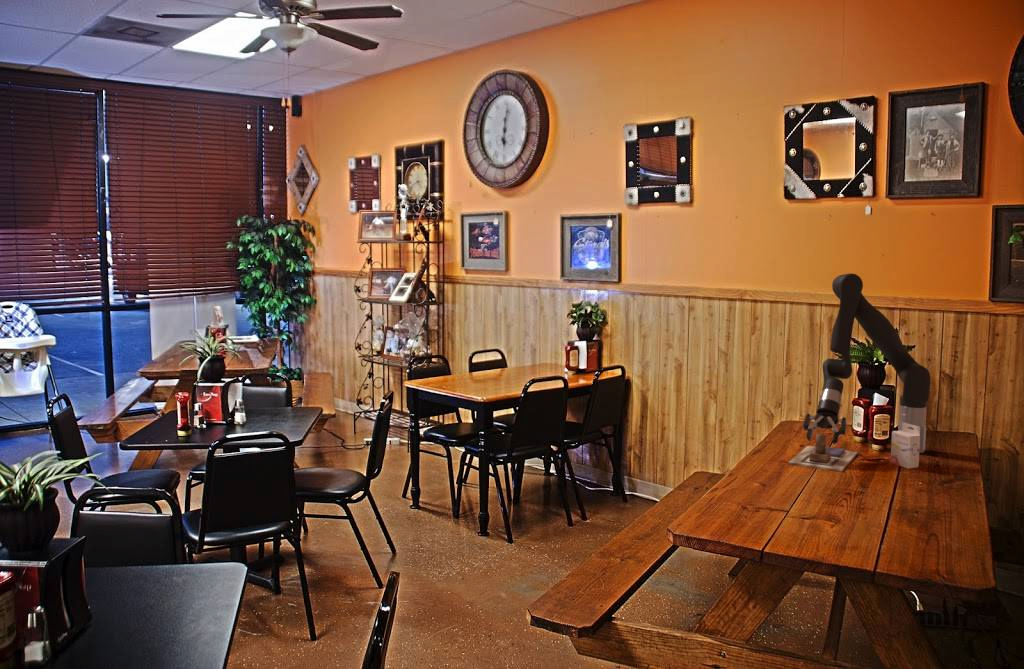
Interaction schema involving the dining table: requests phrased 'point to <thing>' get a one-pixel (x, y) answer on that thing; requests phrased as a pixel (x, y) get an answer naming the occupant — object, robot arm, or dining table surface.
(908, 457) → the ink cartridge box
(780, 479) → the dining table surface
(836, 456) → the stamping board
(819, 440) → the hand stamp
